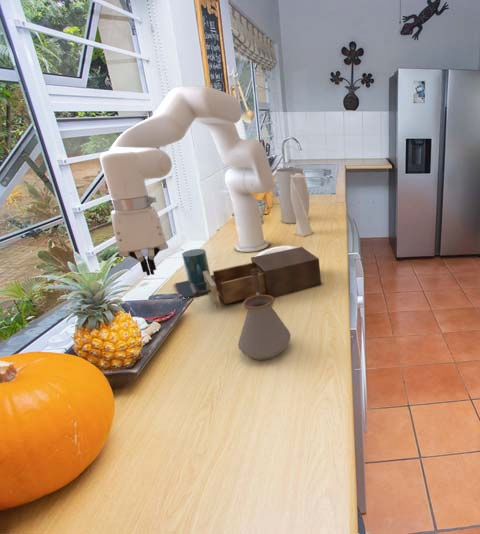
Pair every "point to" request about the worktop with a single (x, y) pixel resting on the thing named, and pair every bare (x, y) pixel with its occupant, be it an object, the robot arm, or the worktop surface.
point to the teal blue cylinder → (196, 266)
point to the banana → (275, 250)
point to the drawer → (231, 284)
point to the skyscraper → (300, 203)
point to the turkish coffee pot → (262, 327)
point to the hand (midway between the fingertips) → (150, 273)
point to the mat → (188, 289)
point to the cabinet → (288, 271)
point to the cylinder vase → (286, 193)
